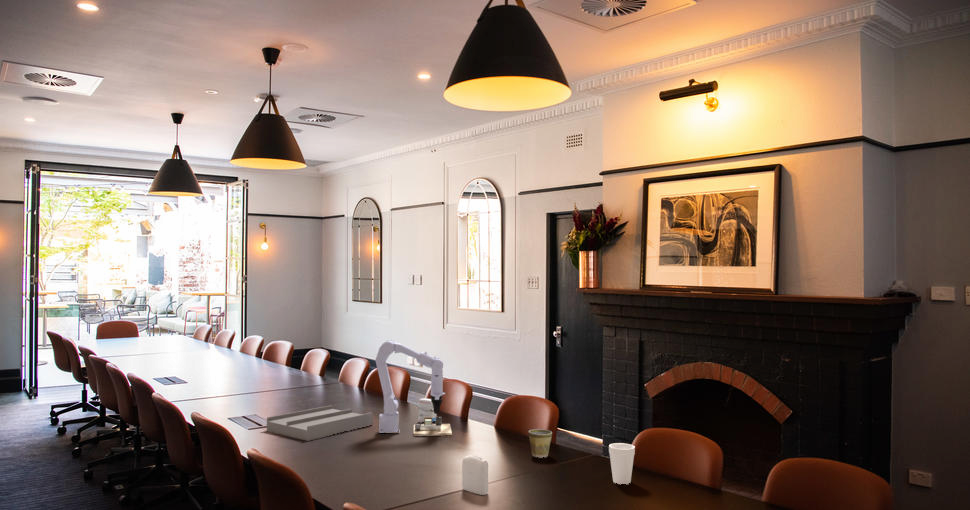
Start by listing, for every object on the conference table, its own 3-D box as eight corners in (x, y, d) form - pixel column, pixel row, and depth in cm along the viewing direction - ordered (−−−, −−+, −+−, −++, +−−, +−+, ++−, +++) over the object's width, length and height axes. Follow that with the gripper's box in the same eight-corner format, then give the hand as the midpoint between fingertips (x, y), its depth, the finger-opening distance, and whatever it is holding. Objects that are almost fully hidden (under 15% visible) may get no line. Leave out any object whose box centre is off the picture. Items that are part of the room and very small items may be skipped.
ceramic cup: (550, 459, 267) (550, 435, 267) (526, 458, 269) (527, 433, 269) (553, 451, 279) (553, 428, 280) (530, 450, 281) (531, 427, 282)
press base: (413, 436, 303) (413, 425, 304) (413, 427, 323) (414, 416, 323) (451, 436, 305) (451, 424, 305) (449, 426, 325) (449, 415, 325)
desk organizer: (266, 431, 313) (266, 417, 313) (331, 418, 345) (331, 405, 345) (307, 441, 294) (308, 426, 294) (372, 426, 326) (372, 412, 327)
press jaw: (425, 427, 315) (425, 420, 315) (425, 426, 318) (425, 419, 318) (431, 427, 315) (431, 420, 315) (431, 426, 318) (431, 419, 318)
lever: (414, 430, 309) (415, 418, 309) (414, 429, 312) (414, 417, 312) (441, 429, 311) (441, 417, 311) (441, 428, 314) (441, 416, 314)
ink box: (436, 422, 336) (437, 399, 336) (431, 424, 331) (431, 400, 332) (423, 420, 340) (424, 397, 340) (418, 422, 336) (418, 399, 336)
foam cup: (616, 476, 244) (616, 441, 245) (639, 481, 238) (639, 445, 239) (604, 482, 237) (604, 446, 237) (627, 487, 231) (627, 451, 232)
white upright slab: (460, 489, 227) (460, 454, 228) (468, 487, 230) (469, 452, 231) (481, 496, 220) (481, 460, 220) (490, 493, 223) (490, 457, 224)
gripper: (445, 386, 307) (445, 415, 306) (444, 381, 321) (444, 409, 321) (430, 386, 306) (430, 415, 306) (430, 381, 321) (430, 409, 320)
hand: (436, 412), depth 313 cm, fingers open, 7 cm apart
